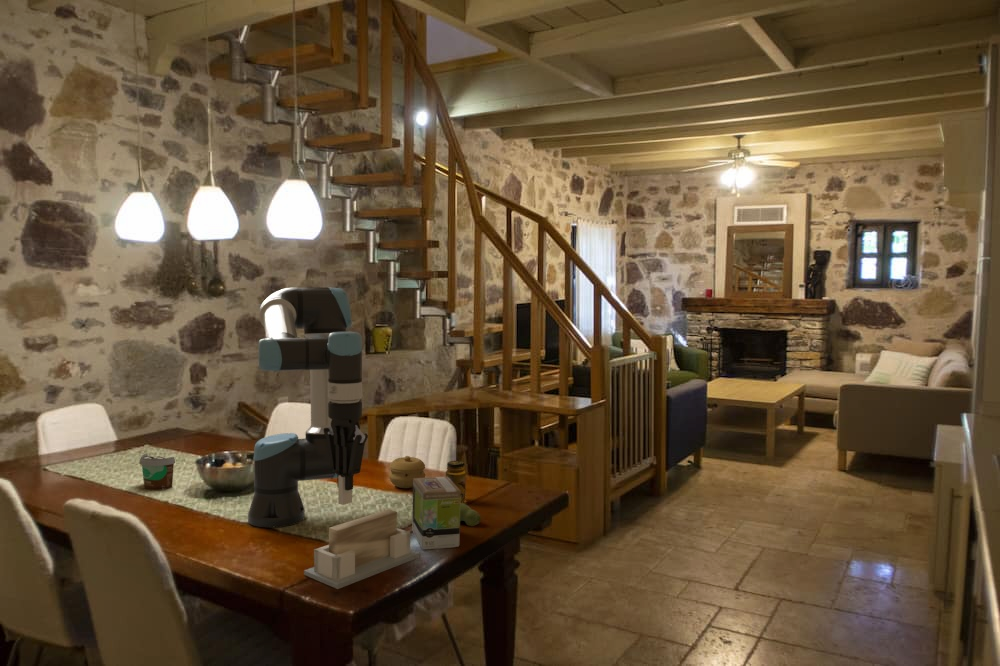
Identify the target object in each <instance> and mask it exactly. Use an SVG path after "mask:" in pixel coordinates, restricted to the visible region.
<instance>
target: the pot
mask: <svg viewBox="0 0 1000 666" xmlns="http://www.w3.org/2000/svg"><path fill="white" fill-rule="evenodd" d="M388 469H389V470H390V472H389V474H388V479H389V480H390V483H392V484H393V486H395V487H397V488H399V489H413V478H426V472H425V471H424V470H425V469H426V464H425V462H424V461H423V460H421V459H420V458H417V457H411V456H409V455H405V456H403V457H398V458H395V459H393V460H392V462H390V463H389V468H388Z"/></svg>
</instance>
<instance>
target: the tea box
mask: <svg viewBox="0 0 1000 666" xmlns="http://www.w3.org/2000/svg"><path fill="white" fill-rule="evenodd" d="M460 500H461V491H460V490H459V488H458V487H457V486H456V485H455V484H454V483H453V482H452V481H451V479H450V478H449V477H446V476H433V477H432V476H431V477H425V478H413V488H412V515H411V516H412V521H411V523H412V524H411V525H412V526H411V529H412V532H413V534H414V537H415V539H416V541H417V543H418V545H419V546H420V548H421V549H422V550H423V551H424V550H438V549H450V548H459V546H460V537H461V536H460V532H461V531H460V530H461V529H460V528H461V521H460Z"/></svg>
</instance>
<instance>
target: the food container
mask: <svg viewBox="0 0 1000 666" xmlns="http://www.w3.org/2000/svg"><path fill="white" fill-rule="evenodd" d="M138 463H139V465H140V466H141V470H142V478H143V479H142V480H143V487H144V489H145V490H149V491H159V490H160V491H162V490H167V489H172V488H173V482H174V481H173V478H174V465H175V464H176V460H175V456H171V457H166V458H165V457H163V456H152V455H151V456H150V455H149V454H148V453H144V454H142V455H141V456H140V458H139V462H138Z"/></svg>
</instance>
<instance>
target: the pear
mask: <svg viewBox="0 0 1000 666" xmlns="http://www.w3.org/2000/svg"><path fill="white" fill-rule="evenodd" d="M481 520H482V515H480V514H479V512H478V511H476V510H475V509H472V508H471V507H470V506H469V505H468V504H467V503H460V522H465V524H466V525H467V526H469V527H475V526H477V525H479V524H480V522H481Z"/></svg>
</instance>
